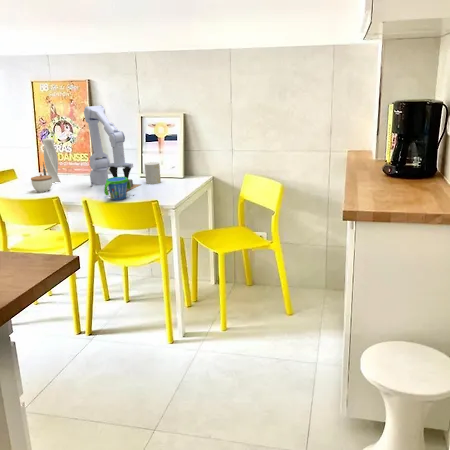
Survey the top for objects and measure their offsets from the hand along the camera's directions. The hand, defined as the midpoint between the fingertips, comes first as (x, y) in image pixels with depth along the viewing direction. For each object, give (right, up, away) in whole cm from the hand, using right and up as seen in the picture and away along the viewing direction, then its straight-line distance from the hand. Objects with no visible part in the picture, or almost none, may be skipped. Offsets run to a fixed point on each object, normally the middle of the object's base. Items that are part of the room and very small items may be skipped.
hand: (121, 180), depth 260 cm
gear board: (+1, -4, +5) cm, 7 cm away
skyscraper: (-47, +2, +32) cm, 57 cm away
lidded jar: (-45, -5, +10) cm, 47 cm away
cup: (+15, -1, +15) cm, 21 cm away
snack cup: (+2, -10, -14) cm, 17 cm away
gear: (+2, -2, +7) cm, 8 cm away
